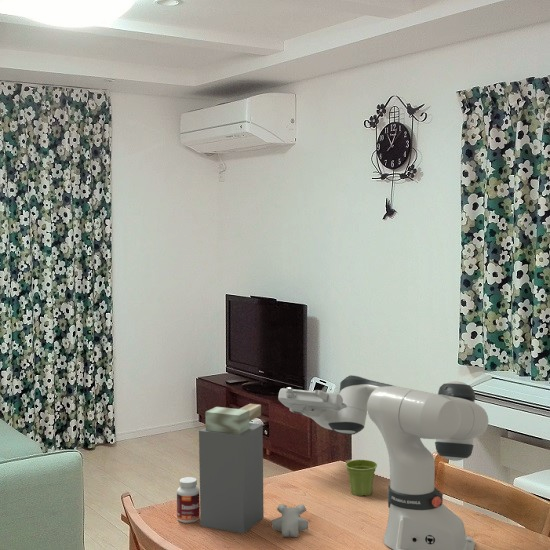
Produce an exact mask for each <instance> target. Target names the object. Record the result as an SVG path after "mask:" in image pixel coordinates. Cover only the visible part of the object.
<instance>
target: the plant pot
mask: <svg viewBox="0 0 550 550" xmlns="http://www.w3.org/2000/svg"><path fill="white" fill-rule="evenodd" d="M345 467H346V471H347V473H348V477H349V479H348V480H349V485H350V492H351V494H352V495H354V496H357V497H361V496H370V495H371V494H372V493H373V487H374V480H375V479H374V478H375V472H376V470H377V469H376V468H377V467H378V464H377V463H376V462H375V461H372V460H368V459H354V460H350V461H349V460H348V461H347V462H346V463H345Z"/></svg>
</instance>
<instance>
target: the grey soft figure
mask: <svg viewBox="0 0 550 550" xmlns="http://www.w3.org/2000/svg"><path fill="white" fill-rule="evenodd" d="M276 509H277V511H278V513H280V514H281V516H280V517H279V516H278V517H277V518H274V519H272V521H271V524H272V525H271V527H272V530H275V531H276V530H277V531H280V532H281V537H285V538H286V537H295V538H296V537H299V532H302V531H306V530H309V519H305V518H303V517H301V515H302V514H304V513H305V512H306V511H307V508H306V506H305V504H299V505H298V504H297V505H296V507H288V506H287V505H286V504H282V503H280V504H279V505H278V506H277V508H276Z"/></svg>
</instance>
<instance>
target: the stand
mask: <svg viewBox="0 0 550 550" xmlns="http://www.w3.org/2000/svg"><path fill="white" fill-rule="evenodd" d="M249 425H250V429H248V430H246V431H244V432H243V433H241V434H232V433H224V432H215V431H207V430H206V426H205V427H202V428H201V429H200V430H198V448H199V449H198V453H199V460H198V461H199V462H198V463H199V505H200V517H199V519H200V520H199V521H200V522H199V523H200V527H204V528H209V529H216V530H221V531H227V532H231V533H237V534H243V535H245V534H246V533H247V532H248V531H249V530H250V529H252V528H253V527H254V526H255V525H257V524H258V523H259V522H260V521H261V520H262V519H264V518H265V516H264V515H265V514H264V513H265V512H264V510H265V509H264V440H263V439H264V437H263V436H264V435H263V434H264V431H263V430H264V429H263V428H264V427H263V425H264V424H262V423H261V424H260V423H250V422H249Z"/></svg>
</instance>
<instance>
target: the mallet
mask: <svg viewBox="0 0 550 550" xmlns="http://www.w3.org/2000/svg"><path fill="white" fill-rule="evenodd" d="M261 415H262V404H256V403H249V404H246V405H244V406H242V407H240V408H231V407H223V406H222V407H221V406H215V407H213V408H210V409H208V410H206V411H205V416H204V417H205V427H206V430H207V431H215V432H224V433H232V434H241V433H243V432H244V431H246V430H248V429H250V425H249V423H250V422H251V421H253V420H255V419H257V418H258V417H261Z"/></svg>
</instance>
